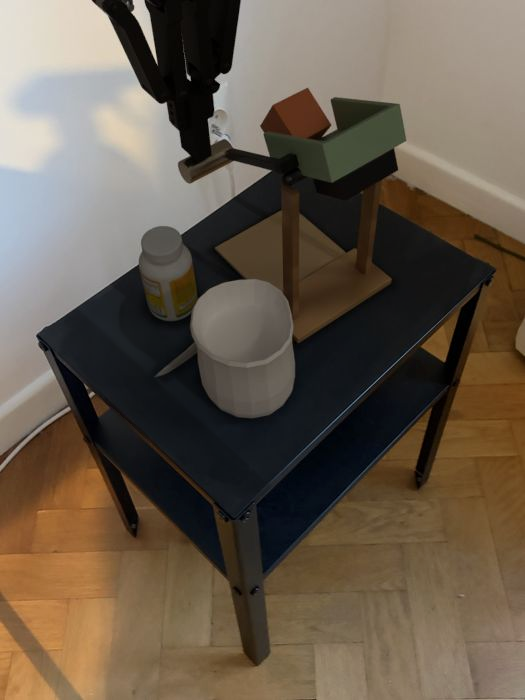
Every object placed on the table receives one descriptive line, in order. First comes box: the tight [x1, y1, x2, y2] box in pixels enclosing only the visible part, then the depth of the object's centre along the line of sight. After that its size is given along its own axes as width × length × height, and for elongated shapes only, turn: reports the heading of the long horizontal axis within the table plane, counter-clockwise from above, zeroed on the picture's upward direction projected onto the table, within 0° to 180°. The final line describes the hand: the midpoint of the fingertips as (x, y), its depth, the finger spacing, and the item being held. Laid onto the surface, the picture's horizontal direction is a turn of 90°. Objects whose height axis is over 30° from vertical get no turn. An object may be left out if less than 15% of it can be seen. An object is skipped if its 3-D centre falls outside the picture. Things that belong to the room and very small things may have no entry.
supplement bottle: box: [138, 225, 199, 322], centre depth 75 cm, size 5×5×10 cm
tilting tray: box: [177, 96, 407, 202], centre depth 64 cm, size 15×16×5 cm
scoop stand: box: [280, 179, 393, 344], centre depth 71 cm, size 6×13×18 cm, turn 127°
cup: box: [189, 279, 296, 419], centre depth 68 cm, size 10×10×10 cm
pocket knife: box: [154, 341, 198, 378], centre depth 74 cm, size 14×1×2 cm, turn 131°
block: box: [259, 87, 332, 140], centre depth 66 cm, size 4×4×4 cm
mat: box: [214, 209, 347, 292], centre depth 82 cm, size 10×11×1 cm
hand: (196, 151), depth 66 cm, fingers closed
